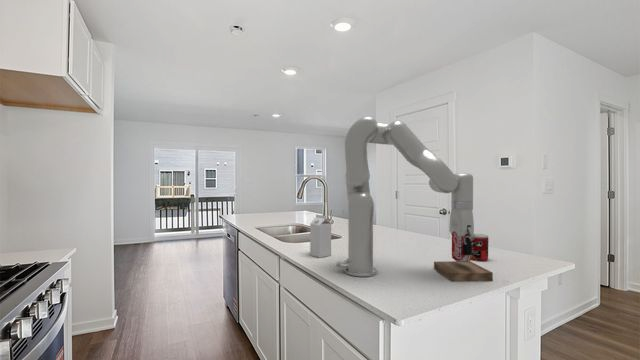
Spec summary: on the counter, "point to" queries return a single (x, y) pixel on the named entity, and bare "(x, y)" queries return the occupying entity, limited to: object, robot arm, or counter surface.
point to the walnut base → (463, 271)
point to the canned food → (480, 248)
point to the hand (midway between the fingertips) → (461, 252)
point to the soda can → (459, 248)
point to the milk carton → (320, 237)
